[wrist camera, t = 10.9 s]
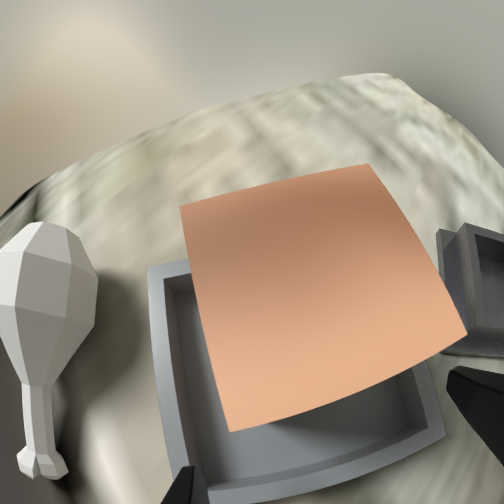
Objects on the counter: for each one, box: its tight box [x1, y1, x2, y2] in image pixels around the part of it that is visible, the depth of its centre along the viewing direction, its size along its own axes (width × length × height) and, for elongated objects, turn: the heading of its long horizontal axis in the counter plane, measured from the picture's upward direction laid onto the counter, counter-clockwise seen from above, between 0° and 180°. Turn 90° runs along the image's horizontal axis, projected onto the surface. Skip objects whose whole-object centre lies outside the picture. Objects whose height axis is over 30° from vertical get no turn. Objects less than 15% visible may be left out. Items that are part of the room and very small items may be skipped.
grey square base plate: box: [436, 223, 504, 358], centre depth 16 cm, size 10×10×3 cm
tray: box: [147, 258, 446, 504], centre depth 15 cm, size 14×14×4 cm
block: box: [180, 164, 467, 432], centre depth 11 cm, size 5×5×12 cm
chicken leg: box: [0, 221, 98, 480], centre depth 14 cm, size 8×18×8 cm, turn 179°
